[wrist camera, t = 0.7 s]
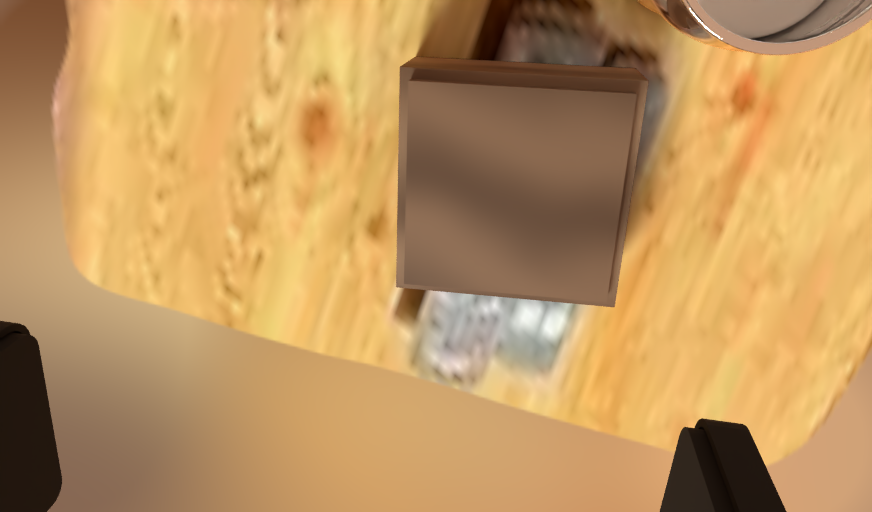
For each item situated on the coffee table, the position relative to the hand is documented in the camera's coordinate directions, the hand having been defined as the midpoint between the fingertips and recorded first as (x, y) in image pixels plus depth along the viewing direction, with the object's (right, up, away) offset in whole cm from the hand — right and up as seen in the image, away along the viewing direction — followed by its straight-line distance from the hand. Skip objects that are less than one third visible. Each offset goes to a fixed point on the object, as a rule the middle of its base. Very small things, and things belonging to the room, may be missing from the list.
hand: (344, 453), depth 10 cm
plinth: (+6, +7, +27) cm, 28 cm away
